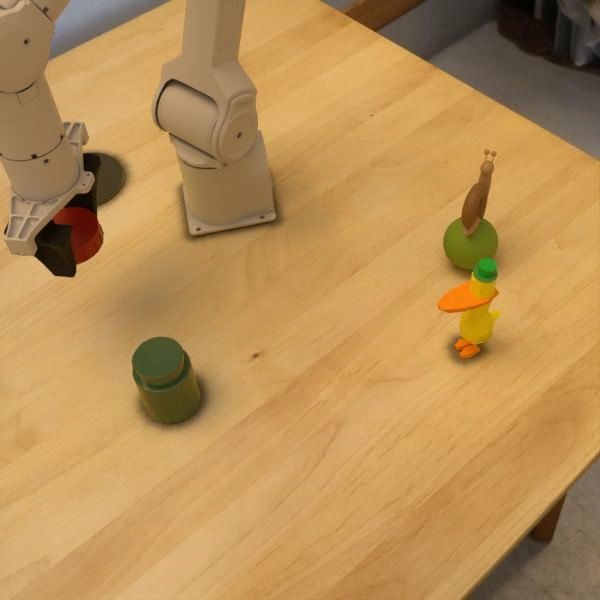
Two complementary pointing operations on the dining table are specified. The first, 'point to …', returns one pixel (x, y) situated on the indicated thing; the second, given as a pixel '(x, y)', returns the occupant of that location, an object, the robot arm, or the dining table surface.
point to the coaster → (108, 178)
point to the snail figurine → (473, 225)
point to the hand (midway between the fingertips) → (75, 249)
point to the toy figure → (474, 307)
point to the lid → (82, 231)
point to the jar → (165, 380)
